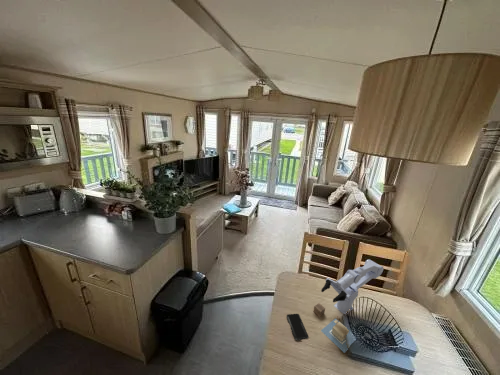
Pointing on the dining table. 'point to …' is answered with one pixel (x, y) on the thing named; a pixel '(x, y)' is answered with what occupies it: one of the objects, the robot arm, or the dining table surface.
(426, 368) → the dining table surface
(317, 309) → the walnut block
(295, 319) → the phone
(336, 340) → the board
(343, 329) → the maple base block
